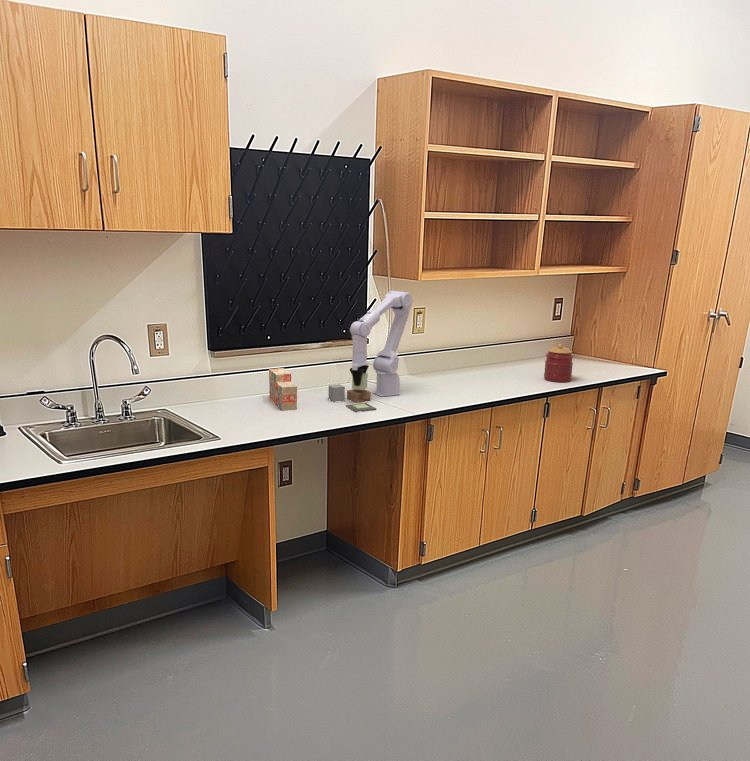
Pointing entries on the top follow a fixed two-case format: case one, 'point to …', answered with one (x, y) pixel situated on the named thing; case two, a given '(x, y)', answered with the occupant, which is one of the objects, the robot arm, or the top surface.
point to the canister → (558, 364)
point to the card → (360, 407)
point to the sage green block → (363, 382)
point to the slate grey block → (336, 393)
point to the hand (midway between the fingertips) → (359, 384)
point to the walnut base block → (358, 395)
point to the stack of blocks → (282, 389)
